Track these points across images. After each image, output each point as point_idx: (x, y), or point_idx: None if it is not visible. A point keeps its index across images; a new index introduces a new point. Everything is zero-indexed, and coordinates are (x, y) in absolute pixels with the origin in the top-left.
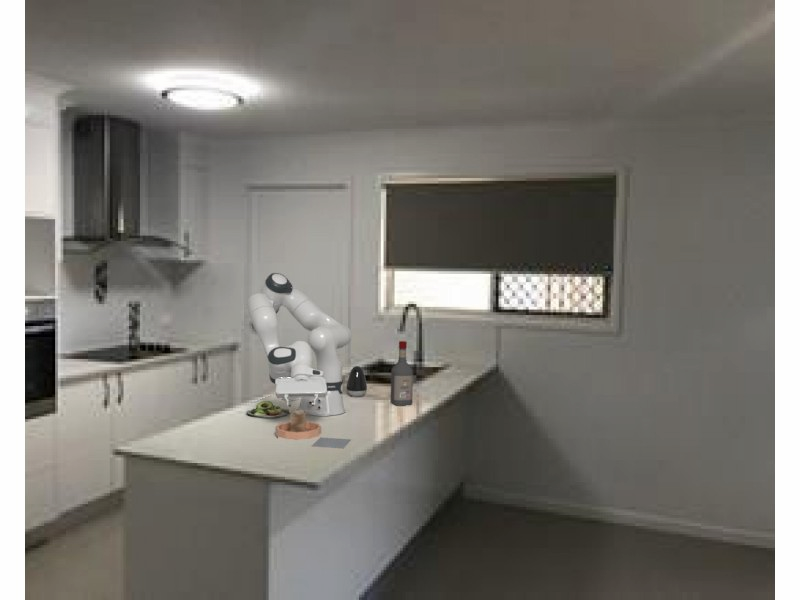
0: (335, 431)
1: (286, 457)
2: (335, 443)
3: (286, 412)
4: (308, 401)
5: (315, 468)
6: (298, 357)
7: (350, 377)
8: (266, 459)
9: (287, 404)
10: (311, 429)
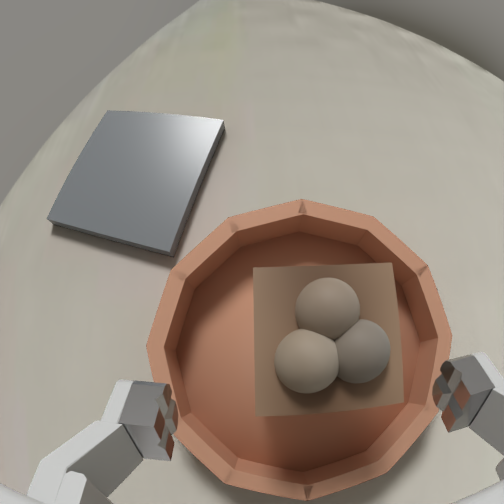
0: None
1: (307, 62)
2: (117, 158)
3: None
4: None
5: (218, 16)
6: None
7: None
8: (363, 56)
9: (478, 353)
10: (222, 434)
